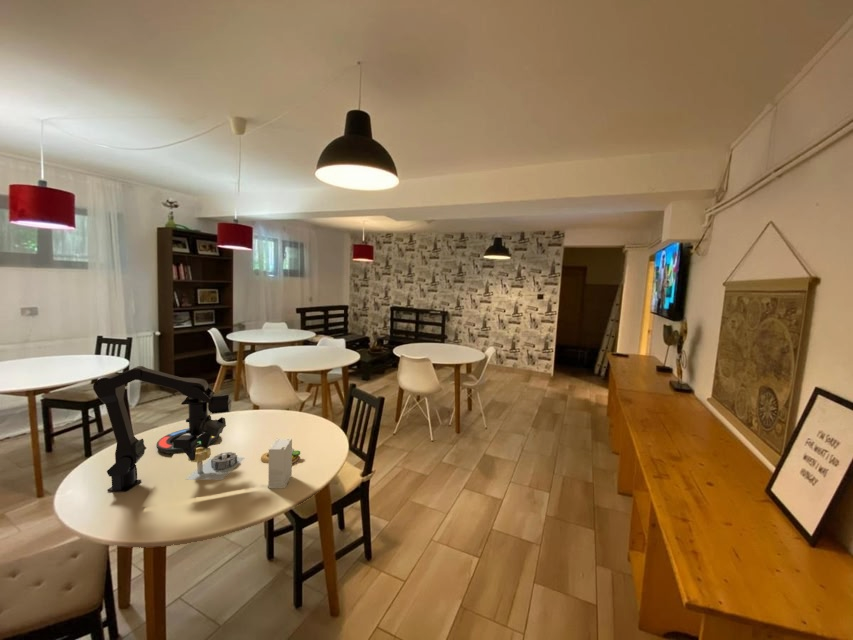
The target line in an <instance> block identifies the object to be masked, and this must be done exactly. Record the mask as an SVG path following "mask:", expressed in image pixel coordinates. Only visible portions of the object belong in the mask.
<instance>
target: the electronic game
mask: <svg viewBox="0 0 853 640" xmlns="http://www.w3.org/2000/svg"><path fill="white" fill-rule="evenodd" d="M188 429H189V427H187V428H185V429H180V430H177V431H173V432H171V433H168V434H166V435H164V436H163V437H161V438H160V439H159V440H158V441H157V443H156V444H155V445H156V449H157V451H160V452H163V453H167V454H173V455H174V454H175V453H185V452H184V451H183V449H182V448H173V441H174V440H175V439H177V438H179V437H180V436H182V435H186V436H190V435H191V434H190V433H186V430H188ZM220 435H221V433H220V434H219V435H218V436H216V437H214V436H212V438H211V440H210V443H209V446H210V445H211V444H213V443H214V442H216V441H217V440H218V438H220ZM197 439H198V441H197V443H199V444H198V445H197V446H196V448H199V447H202V444H201V441H200V438H199V437H197Z"/></svg>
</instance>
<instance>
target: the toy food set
mask: <svg viewBox="0 0 853 640" xmlns="http://www.w3.org/2000/svg"><path fill="white" fill-rule="evenodd" d="M300 455H301V451H300V450H295V449H294V448H293V447H292V465H293V464H295V463H296V461H298V460H299V457H300ZM260 461H261V462H263V463H265V464H266V463H267V464H269V451H267V452H265V453H262V455H261V457H260Z"/></svg>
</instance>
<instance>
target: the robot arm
mask: <svg viewBox="0 0 853 640" xmlns="http://www.w3.org/2000/svg"><path fill="white" fill-rule="evenodd" d="M133 381H141V382H144V383H148V384H152V385H157V386H161V387H163V388H166V389H171V390H175V391H176V392H178V393H180V394H181V395H183V396H184V397H185V396H186V397H185V399H184V400H183V401H181V403H180V405H183V406H185V405H187V407H188V418H186V419H185V423H188V428H189V429H188V428H187V429H188V430H186V433H190V434H191V435H190V436H186V435H182V436H180V437H179V438H177V439H175V440H174V441H173V442H172V444H173V448H182V449H183V451H184V452H183V453H185V455H186V456H187V458H188V457H189V458H190V460H191V461H194V460H195V454H196V446H197V445H198V444H199V443H197V441H198V439H197V437H199V438H200V441H201V444H202V447H208V448H210V447H209V446H210V445H209V443H210V440H211V438H212V436H214V437H216V436H218V435H219V434H220V435H221V434H222V433H223V431H224V428H226V426H227V424H226V418H225V417H223V416H221V417H220V418H218V419H212V416H211V414H213V415H214V414H223V413H231V409H232V400H231V397H230V393H223V394H216V393H215V392H214V390H213V389H212V388H210V386H209V383H208V381H207V380H206V379H204V378H198V377H197V378H196V377H180V376H177V375H173V374H170V373H166V372H162V371H160V370H155V369H152V368H148V367H145V366H143V365H138V366H135V367H133V368H130V369H128V370H125V371H122V372H120V373H115V372H114V373H110V374H109V373H108V374H107V375H105V376H103V377H101V378H99V379H97V380H96V381H95V382H94V383H93V385H92V389H93V391H94V393H95V396H96V397H97V398H98V399H99V400H100V401H101V402H102V403H103V404H104V405H105V408H106V412H107V414H108V418H109V421H110V424H111V427H112V431H113V435H114V438H115V440H116V441H115V442H116V448H115V452H114V457H115V458H114V459H115V463H114V464H112V466H110V467H109V468H108V469H107V470H106V473H107V475H108V477H111V487H109V488H108V489H107V492H121V493H122V492H128V491H129V490H131V489H133V488H134V487H135V486H137V485H138V484H139V483H141V482H142V479H138V468H137V463H139V461H140V460H141V458H143V456H144V455H145V450H146V449H147V447H146V446H145V440H144V438H140V439H138V438H137V437H135V434H134V431H133V427H132V424H131V421H130V418H129V417H130V416H129V414H128V410H127V407H126V404H125V400H124V397H125V392H126V384H129V383H131V382H133ZM208 411H209V413H211V414H208ZM220 435H219V436H220ZM191 461H190V462H191Z"/></svg>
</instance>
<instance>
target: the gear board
mask: <svg viewBox="0 0 853 640" xmlns="http://www.w3.org/2000/svg"><path fill="white" fill-rule="evenodd" d="M214 457H215V456H212V457H211V458H208V460H207V461H206V462H204V463H203V461H200V462H196V463H197V465H196V466H197V468H196V469H195V470H194V471H193V472H192V473H190V474H189V475H188V476H187V477H186V478H185V480H194V481H197V480H198V481H200V480H201V481H209V480H210V481H222V480H223V479H225V478H226V477H227V476H228V474H230V473H231V471H233V470H234V469H235V468H236V467H237V466H238V465H239V464H240V463H242V461H244V459H245V457H237V463H235V465H234V466H232V467H230V468H227V469H221V470H217V469H213V466H212V467H211V459H213V458H214ZM224 459H227V454H222V460H224Z"/></svg>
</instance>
